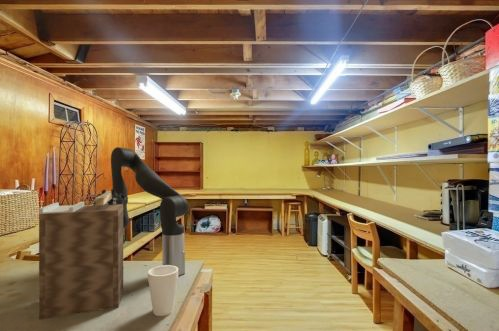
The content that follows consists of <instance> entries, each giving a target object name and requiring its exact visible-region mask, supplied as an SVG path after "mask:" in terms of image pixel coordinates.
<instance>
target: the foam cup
mask: <svg viewBox="0 0 499 331" xmlns="http://www.w3.org/2000/svg"><path fill="white" fill-rule="evenodd" d="M178 278H179V275H178V267H176V266H172V265H163V266H162V265H159V266H158V265H157V266H154V267H152V268H150V269H149V270H148V272H147V281H148V287H149V293H150V294H149V295H150V300H151V301H150V302H151V307H152V313H154V314H155V315H154V314H153V315H154V316H158V317H164V316H169V315H171V314H172V313H173V312H174V308H175V301H176V294H177V287H178V286H177V285H178Z"/></svg>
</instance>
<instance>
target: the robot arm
mask: <svg viewBox="0 0 499 331" xmlns="http://www.w3.org/2000/svg"><path fill="white" fill-rule="evenodd" d="M125 167H126V168H129V169H130V170H132V171H133V172H134V173H135V174H134V176H135V177H134V179H135V181H136V184H138V186H139V187H140V188H141V189H142V190H143V191H144V192H146V193H147V194H150V195H151V196H154V197H156V198H159V199H161V201H160V203H159V204H160V205H159V218H160V219H159V220H160V221H159V222H160V228H161V232H162V233H161V234H162V235H161V236H162V248H161V249H162V250H161V253H162V258H161V259H162V261H161V262H162V263H161V264H162V265H161V266H163V265H172V266H176V267H178V276H182V275H185V274H186V251H185V226H184V225H182V224H178V221H177V218H179V217H183V216H185V215H186V214H188V212H189V210H190V209H189V206H190V205H189V202H188V200H187V198H185V197H184V196H183V195H182V194H180V193H179V192H178V191H177V190H175V189H174V188H173V187H171V186H170V185H169V184H167V183H166V181H164V180H163V178H161V177H160V176H159V175H158V174H157V172H155V171H154V170H153V169H151V168H150V167H149V166H148V165H147V164H146V162H144V160H143V159H142V158H141V157H140V156H139V155H138V153H137V152H136V151H135V150H133V149H130V148H125V147H121V146H119V147H114V149H113V150H112V151H111V154H110V168H111V170H110V172H111V179H112V180H111V182H112V188H111V190H110V191H111V195H112V199H111V200H109V201H108V202H107V203H106V204H104V205H118V204H123V229H126V228H127V227H128V226H129V224H130V216H129V213H128V206H127V204H128V203H129V197H128V192H129V191H128V187H127V184H126V182H125V179H124V178H123V174H122V171H123V170H122V168H125ZM106 192H107V190H106V189H102V190H101V193H98V194H97V195H96V196H95V197H94V199H93V206H94V205H96V198H97V197H98V196H100V195H102V194H104V193H106Z"/></svg>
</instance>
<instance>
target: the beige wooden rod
mask: <svg viewBox="0 0 499 331" xmlns="http://www.w3.org/2000/svg"><path fill="white" fill-rule="evenodd" d="M111 199H112V195H111V190H110V191H109V190H108V191H107V190H106V193H104V194H102V195H100V196H98V197H97V198H96V205H104V204H106V203H107V202H108V201H109V200H111Z"/></svg>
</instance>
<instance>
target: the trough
mask: <svg viewBox="0 0 499 331" xmlns="http://www.w3.org/2000/svg"><path fill="white" fill-rule="evenodd" d="M83 206H85V201H80V202H78V203H77V202H76V204H71V205H60V202H53V203H50V204H48V205H46V206H45V205H44V206H42V207H40V208H38V215H39V214H49V213H70V212H74V211H76V210H78V209H80V208H82V207H83Z"/></svg>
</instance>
